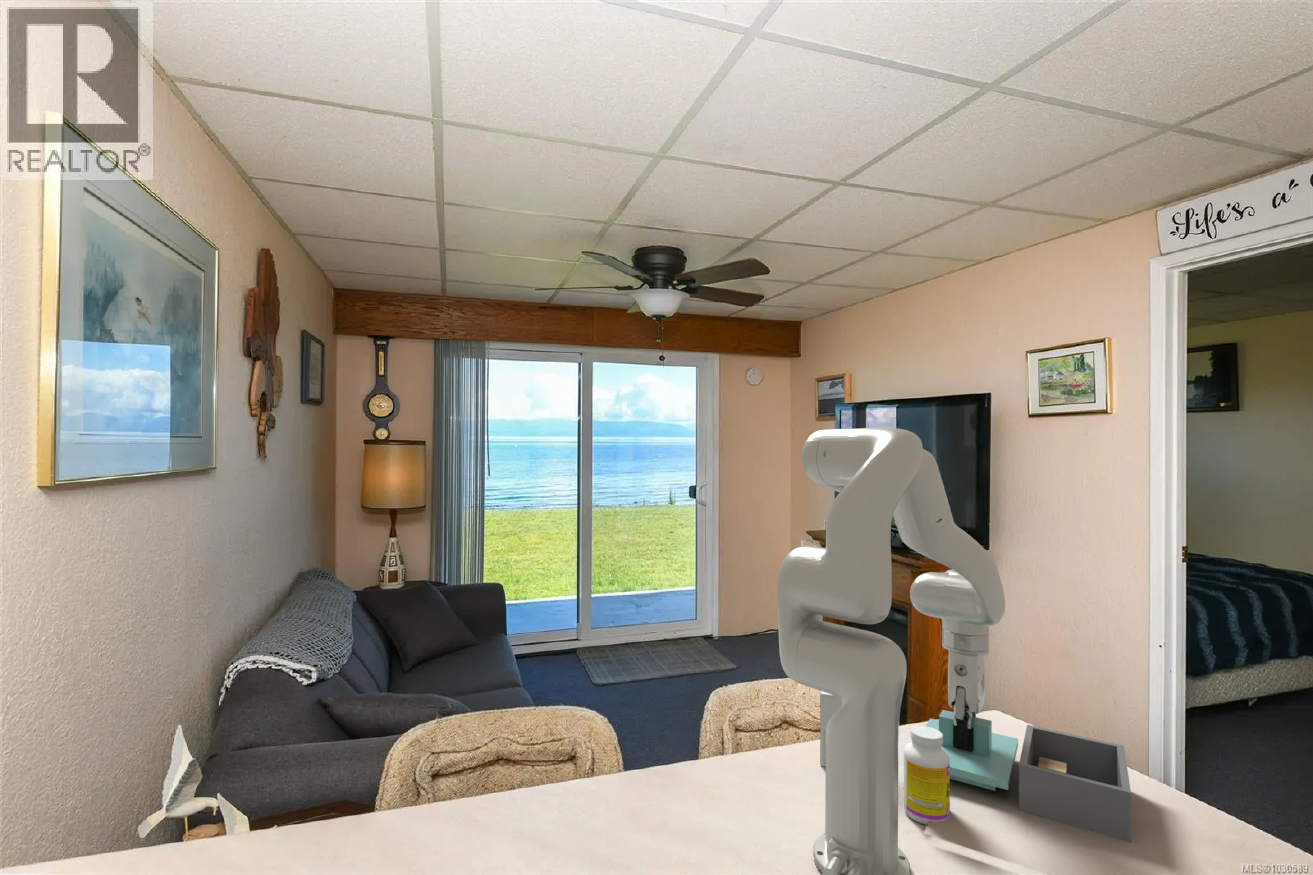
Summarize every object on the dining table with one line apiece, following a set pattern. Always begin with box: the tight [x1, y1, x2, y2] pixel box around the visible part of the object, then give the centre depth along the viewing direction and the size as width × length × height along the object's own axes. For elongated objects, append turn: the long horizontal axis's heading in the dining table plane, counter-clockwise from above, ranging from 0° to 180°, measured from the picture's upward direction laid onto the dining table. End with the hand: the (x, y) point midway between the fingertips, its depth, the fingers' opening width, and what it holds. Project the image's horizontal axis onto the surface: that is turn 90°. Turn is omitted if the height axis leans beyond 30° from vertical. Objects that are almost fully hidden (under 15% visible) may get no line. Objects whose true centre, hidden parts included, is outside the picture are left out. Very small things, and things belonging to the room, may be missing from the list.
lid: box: [925, 709, 1019, 792], centre depth 111 cm, size 19×15×8 cm
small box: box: [819, 691, 842, 767], centre depth 116 cm, size 8×6×13 cm
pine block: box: [1038, 757, 1067, 774], centre depth 107 cm, size 4×4×3 cm
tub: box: [1018, 724, 1132, 843], centre depth 102 cm, size 18×14×8 cm
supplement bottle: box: [903, 725, 951, 825], centre depth 98 cm, size 7×7×13 cm
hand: (965, 743), depth 111 cm, fingers closed on lid, 3 cm apart
